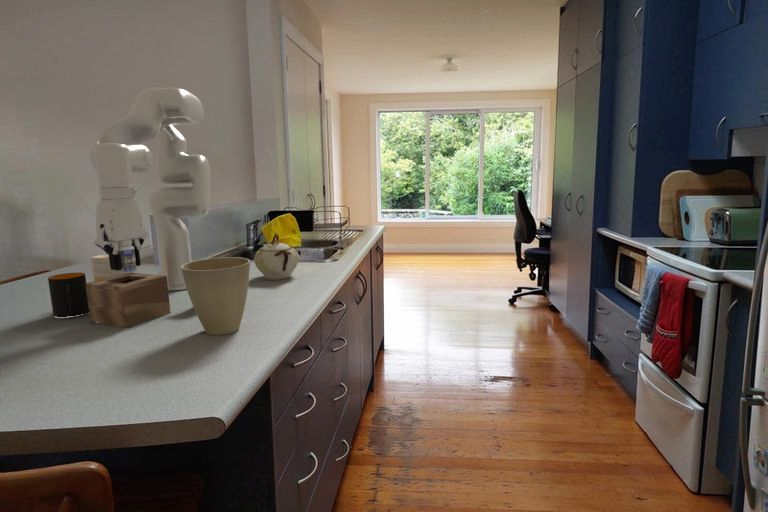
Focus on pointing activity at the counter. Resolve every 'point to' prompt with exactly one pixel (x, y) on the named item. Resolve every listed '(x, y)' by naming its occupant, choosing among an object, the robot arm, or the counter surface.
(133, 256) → the pill bottle
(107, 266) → the supplement box
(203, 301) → the plant pot
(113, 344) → the counter surface
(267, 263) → the sugar bowl
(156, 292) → the box
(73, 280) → the mug
